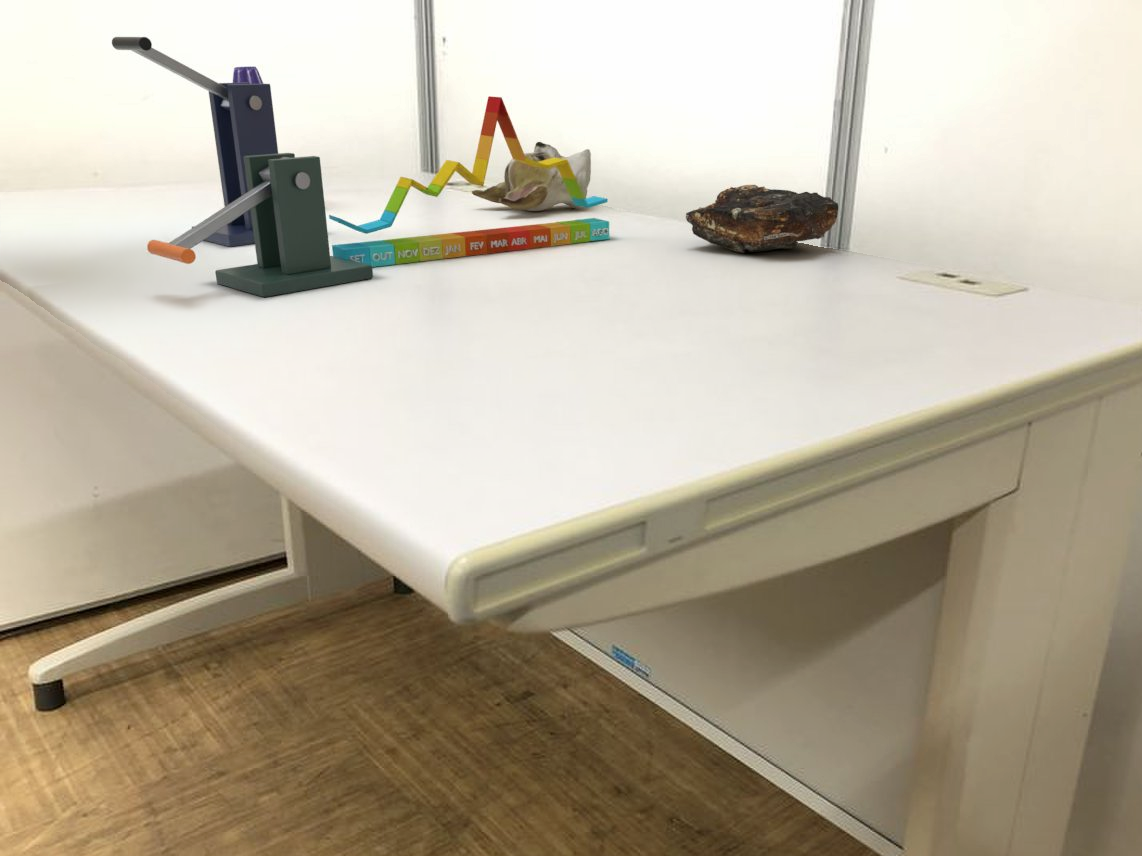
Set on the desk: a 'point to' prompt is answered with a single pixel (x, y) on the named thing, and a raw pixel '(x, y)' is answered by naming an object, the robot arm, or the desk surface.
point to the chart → (479, 239)
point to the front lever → (212, 223)
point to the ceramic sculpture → (539, 181)
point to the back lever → (171, 65)
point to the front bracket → (290, 232)
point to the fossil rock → (763, 218)
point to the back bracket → (241, 148)
